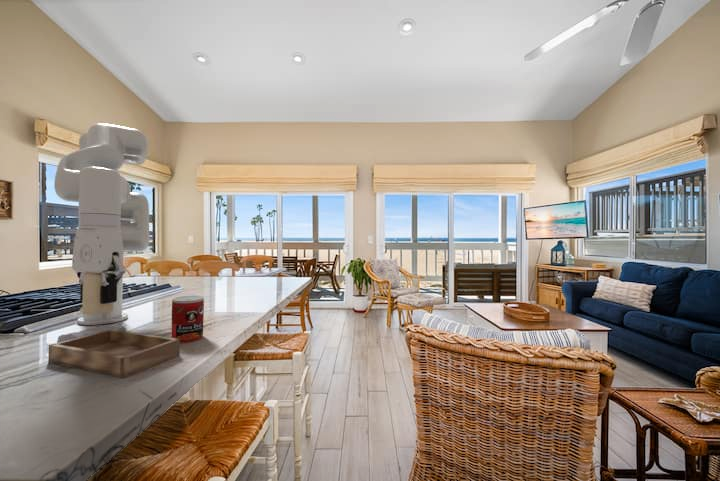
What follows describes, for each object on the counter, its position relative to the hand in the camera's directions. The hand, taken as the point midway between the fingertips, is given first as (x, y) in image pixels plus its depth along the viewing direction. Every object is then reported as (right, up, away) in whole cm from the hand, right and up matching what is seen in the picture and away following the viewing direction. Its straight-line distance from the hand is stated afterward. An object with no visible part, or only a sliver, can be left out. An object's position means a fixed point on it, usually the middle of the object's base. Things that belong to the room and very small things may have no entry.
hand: (98, 301), depth 73 cm
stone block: (-9, -13, +9) cm, 18 cm away
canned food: (+13, -13, +14) cm, 23 cm away
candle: (0, -3, 0) cm, 3 cm away
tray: (+5, -13, -1) cm, 14 cm away
